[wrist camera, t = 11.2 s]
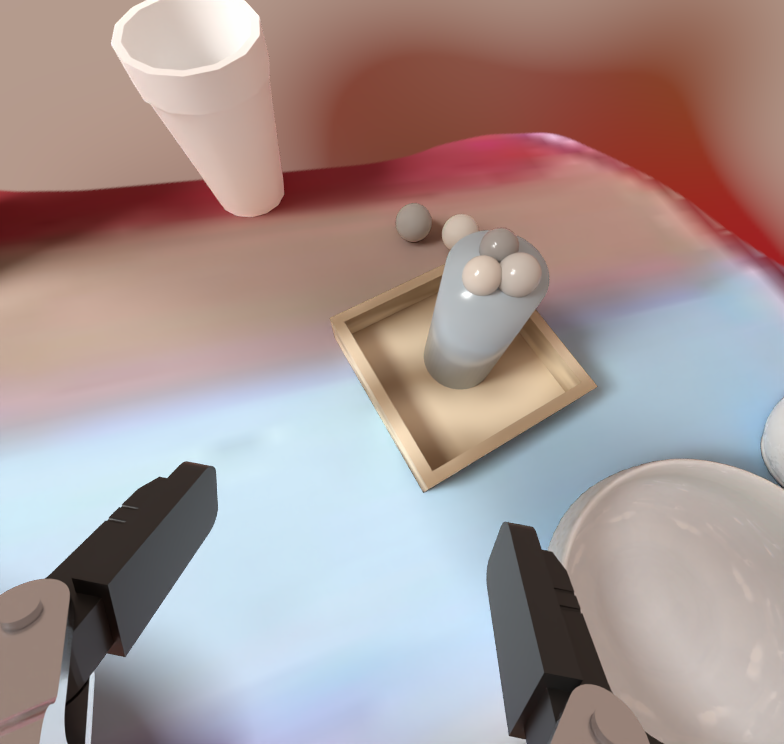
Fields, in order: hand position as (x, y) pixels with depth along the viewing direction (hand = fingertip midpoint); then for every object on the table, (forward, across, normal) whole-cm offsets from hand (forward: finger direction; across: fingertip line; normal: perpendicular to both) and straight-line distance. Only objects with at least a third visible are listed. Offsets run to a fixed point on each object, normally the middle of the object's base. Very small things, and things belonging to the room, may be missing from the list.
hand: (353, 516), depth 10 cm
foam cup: (+32, +17, -6) cm, 36 cm away
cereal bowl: (+10, -19, +13) cm, 25 cm away
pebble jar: (+20, -5, +2) cm, 21 cm away
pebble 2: (+29, -4, -5) cm, 30 cm away
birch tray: (+20, -5, +4) cm, 21 cm away
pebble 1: (+30, +1, -5) cm, 30 cm away
